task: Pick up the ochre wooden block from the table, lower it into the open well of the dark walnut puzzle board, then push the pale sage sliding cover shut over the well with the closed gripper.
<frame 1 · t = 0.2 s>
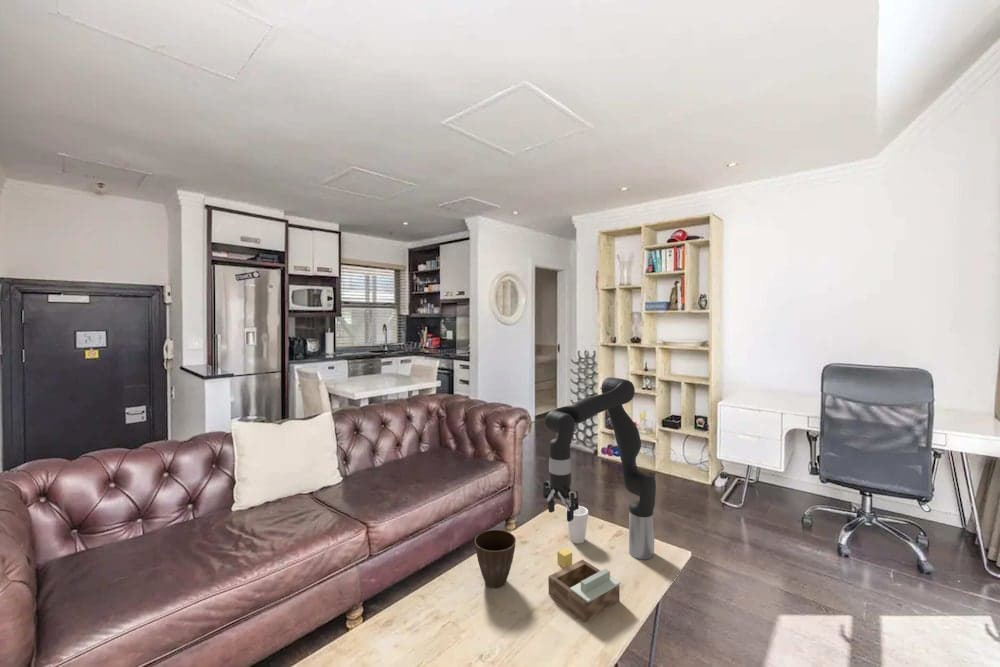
hand: (560, 516, 148), 28 cm above the table, fingers open, 8 cm apart
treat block: (564, 564, 169), on the table
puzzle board: (583, 597, 149), on the table
foam cup: (577, 540, 187), on the table
slide cover: (595, 581, 144), point 9 cm above the table, slide at 8.0 cm
plant pot: (495, 582, 158), on the table
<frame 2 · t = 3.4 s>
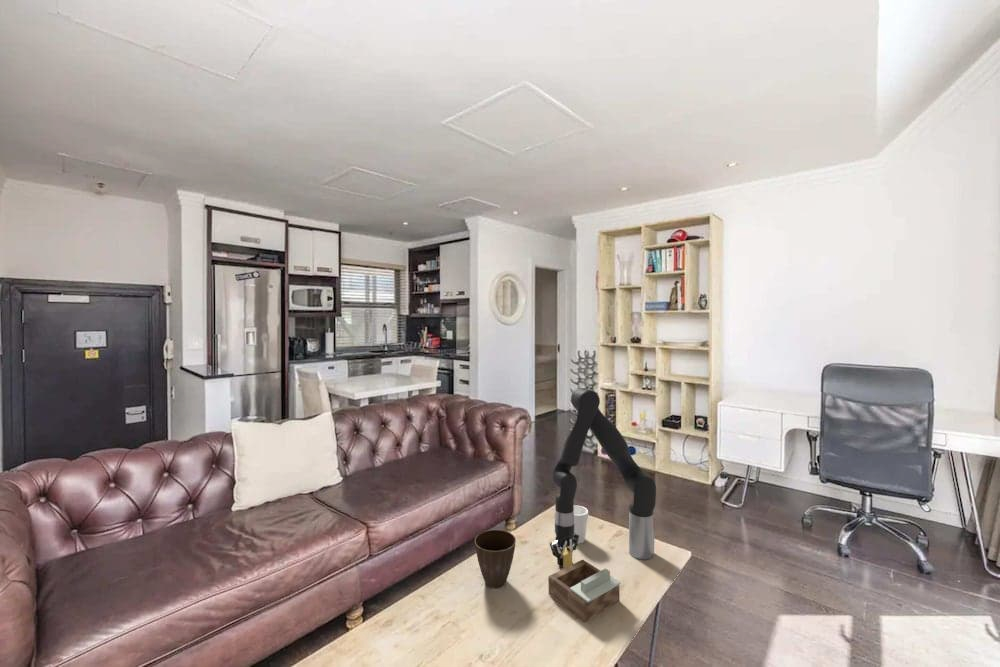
hand: (564, 563, 169), 0 cm above the table, fingers closed on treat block, 4 cm apart
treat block: (564, 564, 169), on the table, touching gripper
everything else where it was.
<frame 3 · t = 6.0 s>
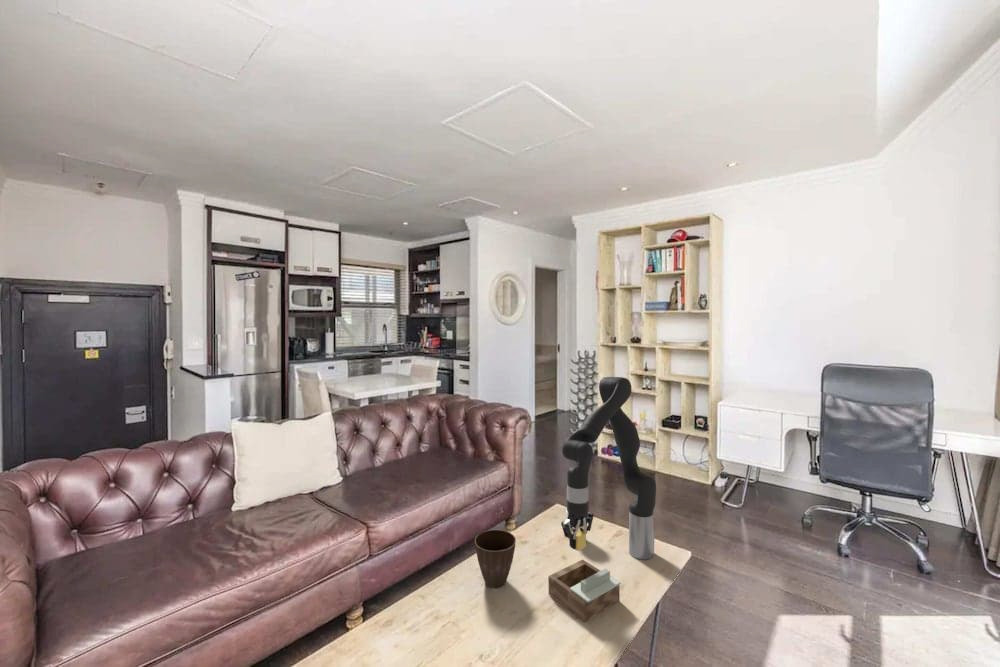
hand: (577, 545, 150), 17 cm above the table, fingers closed on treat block, 4 cm apart
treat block: (577, 546, 150), point 17 cm above the table, touching gripper
everything else where it was.
when the fingers open (4 cm above the table, at t = 8.8 s): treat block drops 3 cm, resting on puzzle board.
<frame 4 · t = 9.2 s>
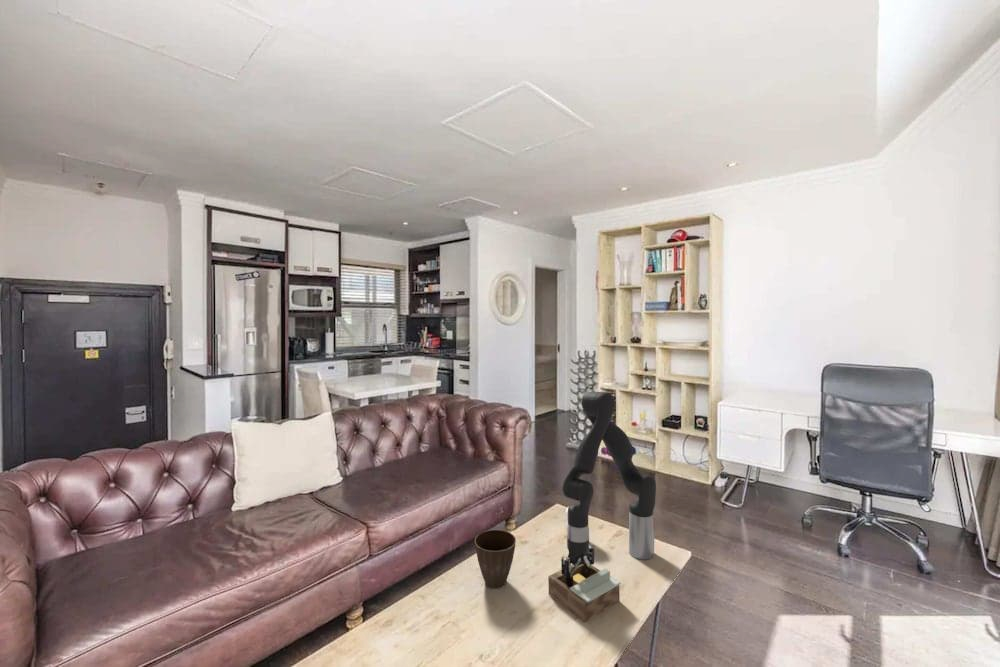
hand: (578, 581, 151), 4 cm above the table, fingers open, 7 cm apart
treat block: (578, 592, 151), resting on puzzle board
everything else where it was.
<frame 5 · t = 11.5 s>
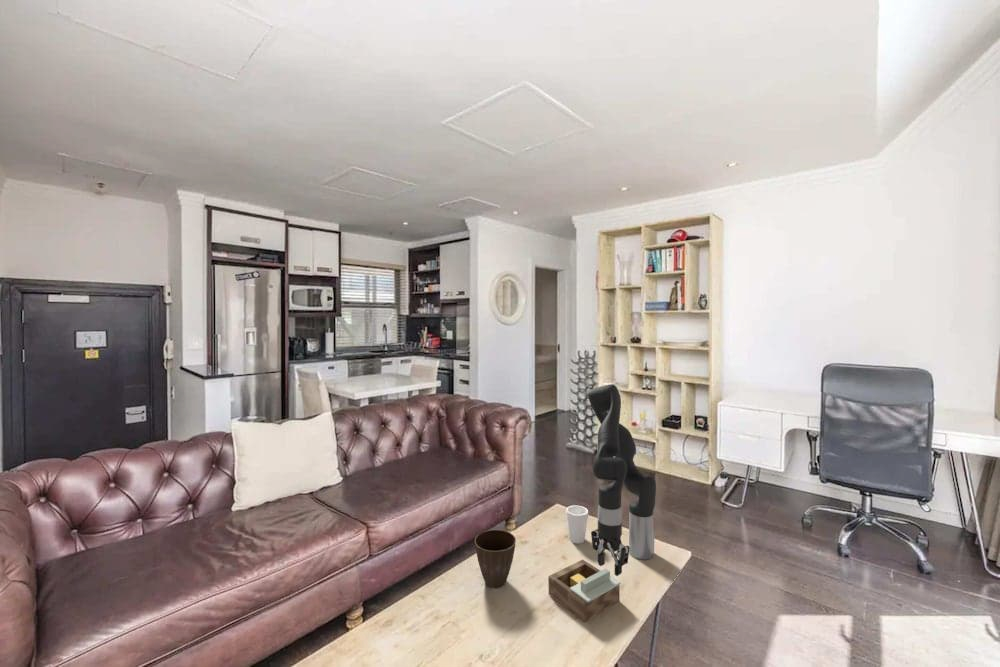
hand: (609, 569, 139), 16 cm above the table, fingers open, 6 cm apart
nothing on the table moved.
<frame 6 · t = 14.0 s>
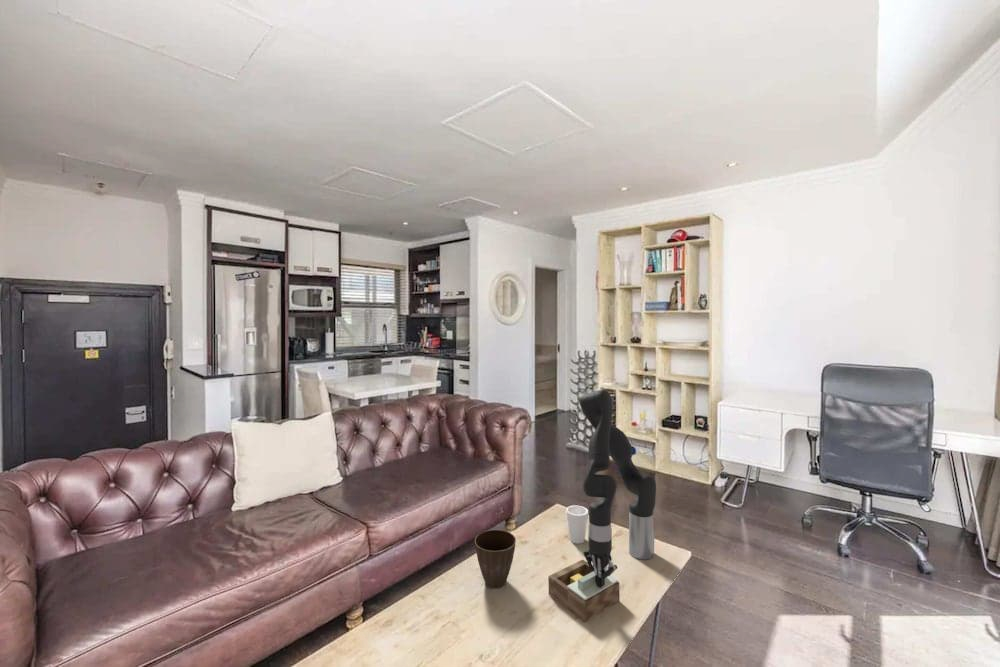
hand: (600, 585, 143), 8 cm above the table, fingers closed
slide cover: (592, 579, 145), point 9 cm above the table, slide at 6.7 cm, touching gripper
everything else where it was.
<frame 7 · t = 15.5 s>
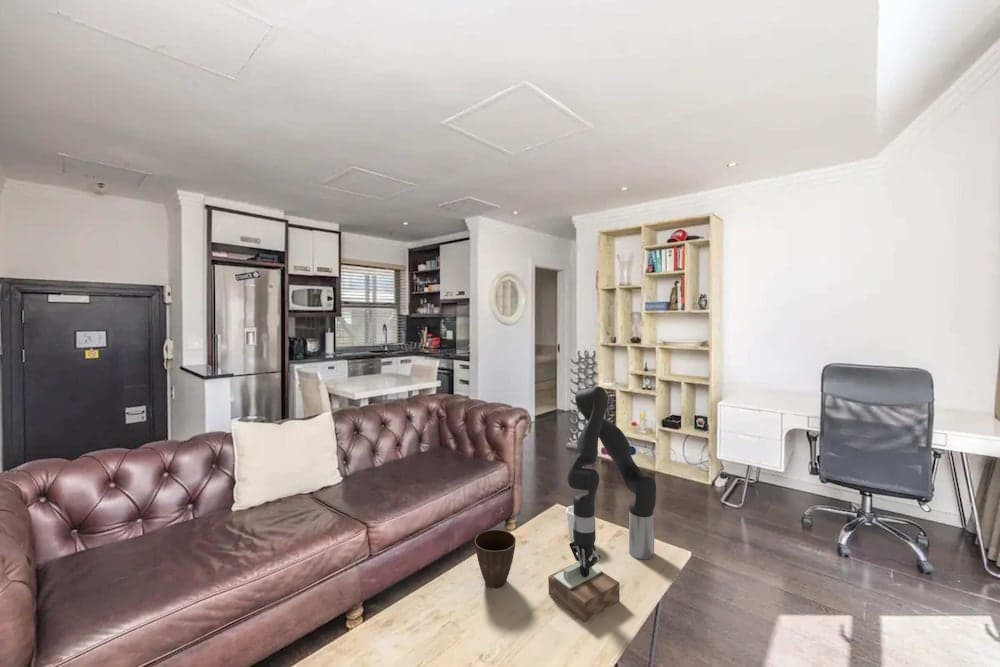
hand: (584, 575, 148), 8 cm above the table, fingers closed
slide cover: (578, 569, 151), point 9 cm above the table, slide at -0.1 cm, touching gripper
everything else where it was.
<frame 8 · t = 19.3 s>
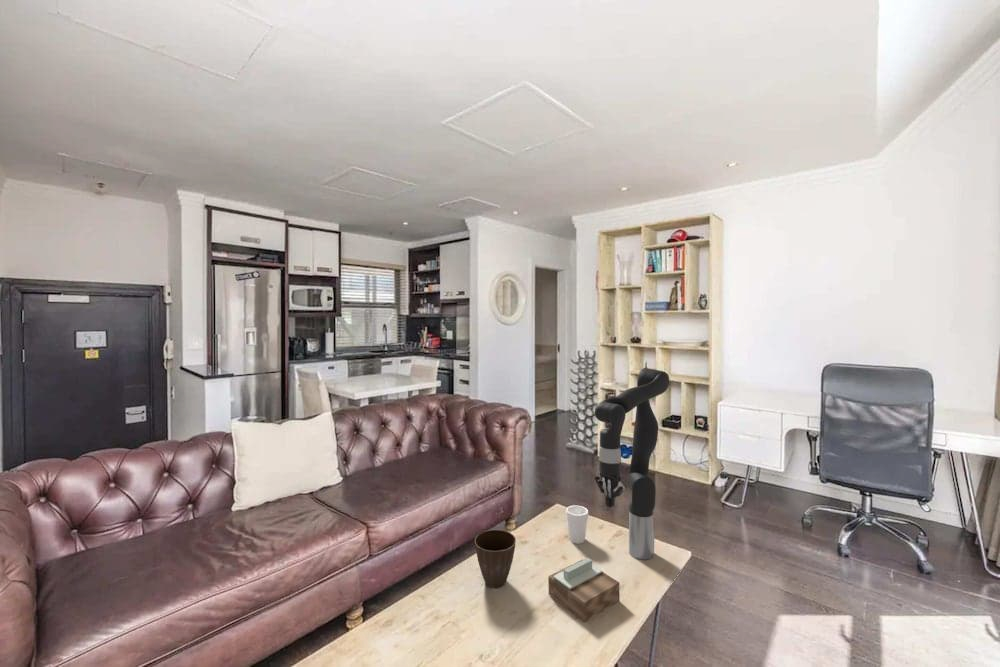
hand: (610, 506, 154), 29 cm above the table, fingers closed
slide cover: (578, 569, 151), point 9 cm above the table, slide at 0.0 cm
everything else where it was.
at the end: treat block inside the target area on the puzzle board (0.1 cm from its centre), point 0.5 cm above the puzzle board's base; slide cover slide at 0.0 cm; the gripper is holding nothing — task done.
